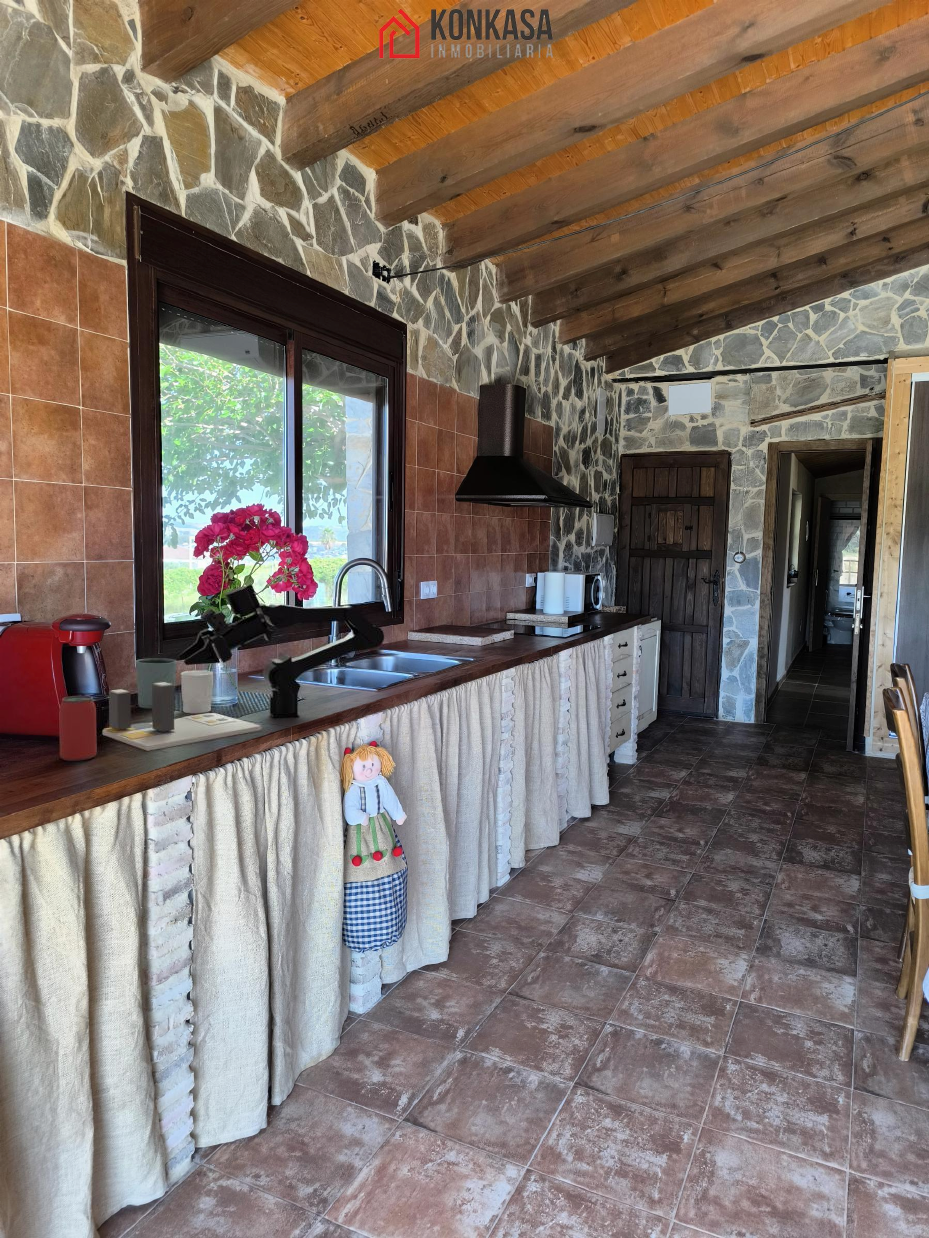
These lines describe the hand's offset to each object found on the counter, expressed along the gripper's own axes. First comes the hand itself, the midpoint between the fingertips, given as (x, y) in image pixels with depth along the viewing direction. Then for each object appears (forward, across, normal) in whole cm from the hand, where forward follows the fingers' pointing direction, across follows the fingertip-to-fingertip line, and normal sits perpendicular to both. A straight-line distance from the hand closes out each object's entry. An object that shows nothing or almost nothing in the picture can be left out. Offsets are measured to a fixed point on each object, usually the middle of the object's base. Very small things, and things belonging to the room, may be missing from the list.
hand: (181, 660), depth 193 cm
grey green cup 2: (+9, -24, +13) cm, 29 cm away
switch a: (+11, +12, +10) cm, 19 cm away
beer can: (+28, +25, +4) cm, 38 cm away
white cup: (+1, -13, +16) cm, 21 cm away
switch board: (+7, +10, +13) cm, 18 cm away
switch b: (+19, +7, +7) cm, 21 cm away
